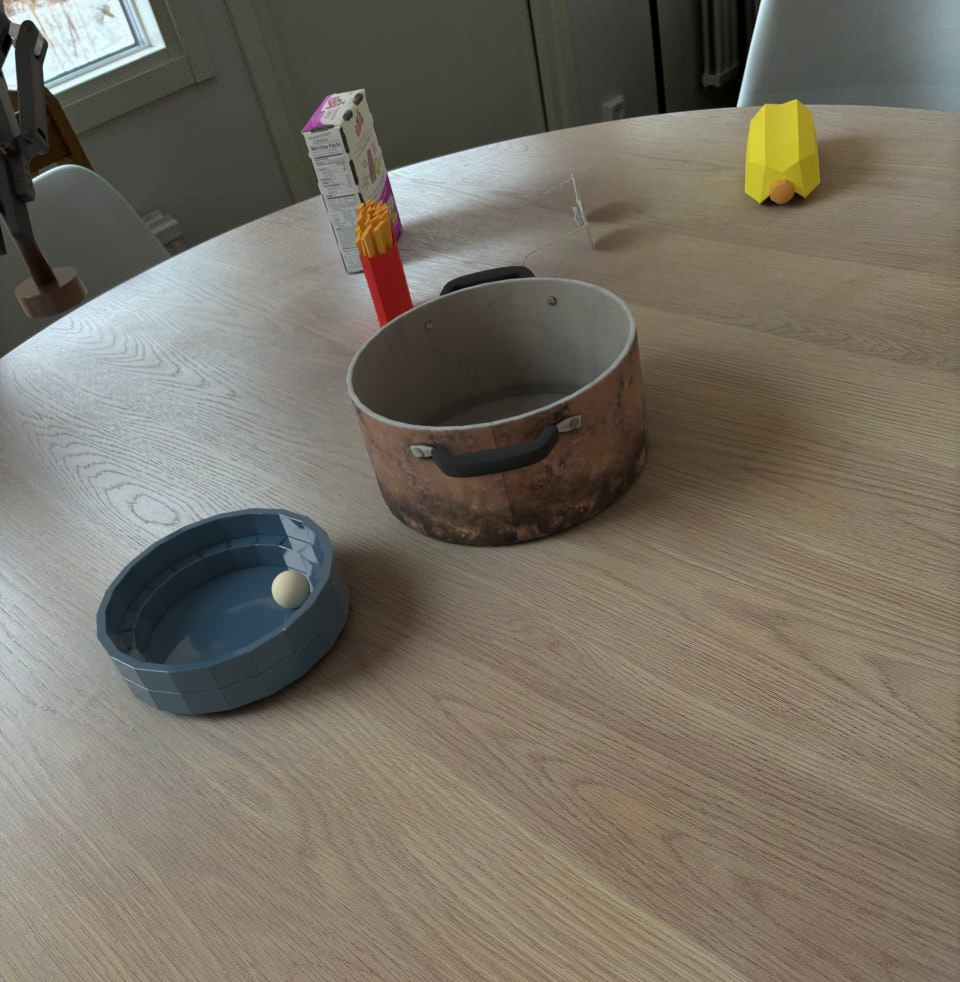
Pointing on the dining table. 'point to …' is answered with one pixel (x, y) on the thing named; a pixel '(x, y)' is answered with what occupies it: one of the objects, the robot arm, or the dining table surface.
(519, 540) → the cooking pot
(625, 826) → the dining table surface
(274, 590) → the beige ball
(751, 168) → the yellow faceted bell
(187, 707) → the bowl
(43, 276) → the brown plunger
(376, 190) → the candy bar box
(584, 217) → the eyeglasses frame
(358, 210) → the french fries
